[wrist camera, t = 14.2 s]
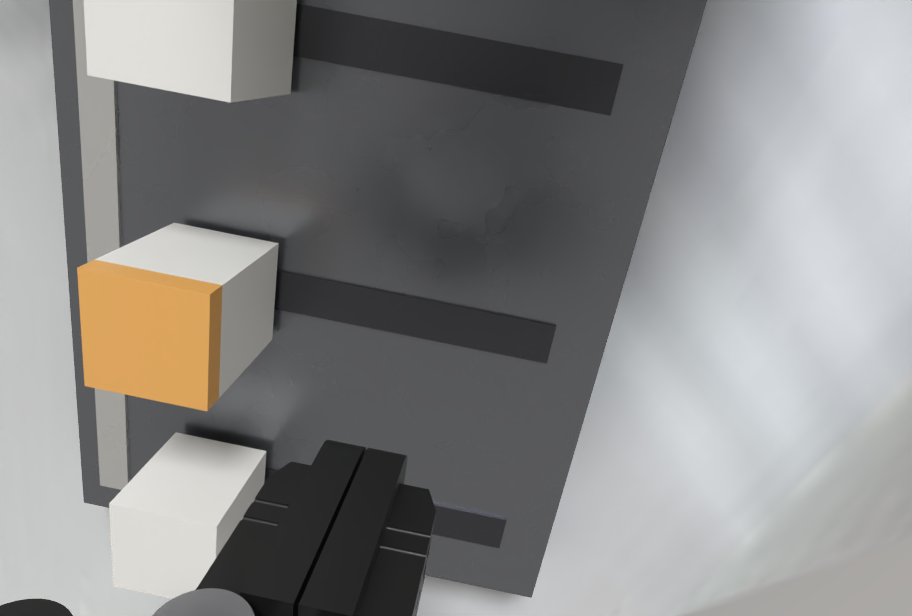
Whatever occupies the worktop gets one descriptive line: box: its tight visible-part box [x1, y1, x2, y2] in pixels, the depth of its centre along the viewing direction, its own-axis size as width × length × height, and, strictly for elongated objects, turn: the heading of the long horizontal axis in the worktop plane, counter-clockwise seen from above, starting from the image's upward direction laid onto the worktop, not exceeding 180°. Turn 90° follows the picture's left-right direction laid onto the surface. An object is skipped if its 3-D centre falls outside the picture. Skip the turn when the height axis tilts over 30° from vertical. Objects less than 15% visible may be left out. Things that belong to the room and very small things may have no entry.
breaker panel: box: [49, 0, 707, 597], centre depth 19 cm, size 16×19×2 cm
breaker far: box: [109, 432, 266, 599], centre depth 19 cm, size 3×3×4 cm
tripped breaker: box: [77, 223, 279, 411], centre depth 16 cm, size 3×3×4 cm
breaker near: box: [84, 0, 297, 103], centre depth 14 cm, size 3×3×4 cm
